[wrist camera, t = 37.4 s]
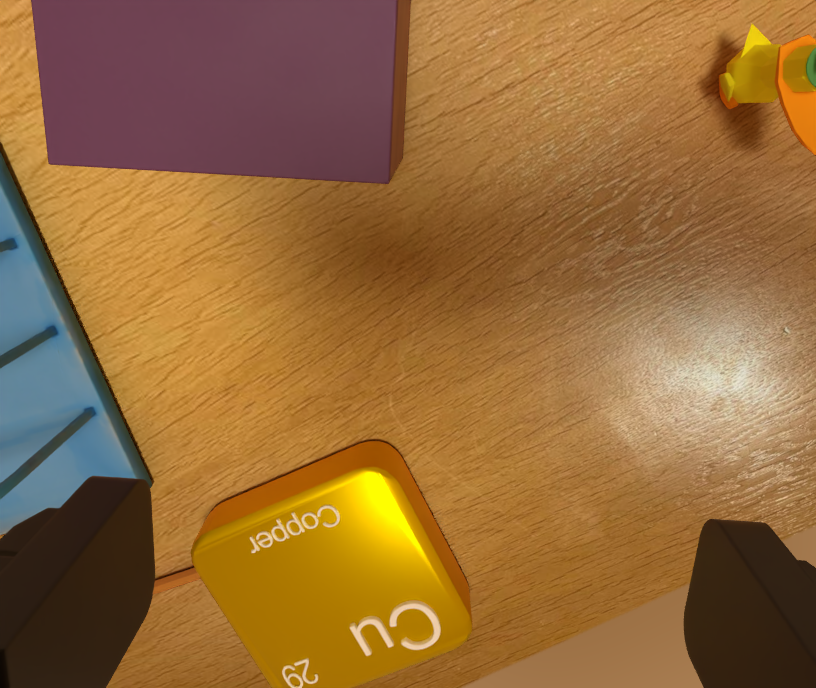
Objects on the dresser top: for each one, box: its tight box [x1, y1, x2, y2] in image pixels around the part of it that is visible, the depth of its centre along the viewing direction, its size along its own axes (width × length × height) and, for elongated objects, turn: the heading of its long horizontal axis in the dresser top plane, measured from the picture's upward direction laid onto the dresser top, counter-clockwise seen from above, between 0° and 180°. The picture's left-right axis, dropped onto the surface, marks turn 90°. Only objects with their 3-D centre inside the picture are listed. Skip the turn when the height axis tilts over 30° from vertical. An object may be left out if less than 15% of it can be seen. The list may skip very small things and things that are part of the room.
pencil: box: [153, 568, 201, 594], centre depth 54 cm, size 1×1×19 cm
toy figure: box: [719, 24, 816, 156], centre depth 37 cm, size 7×4×12 cm, turn 24°
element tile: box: [191, 441, 472, 688], centre depth 50 cm, size 15×15×5 cm
